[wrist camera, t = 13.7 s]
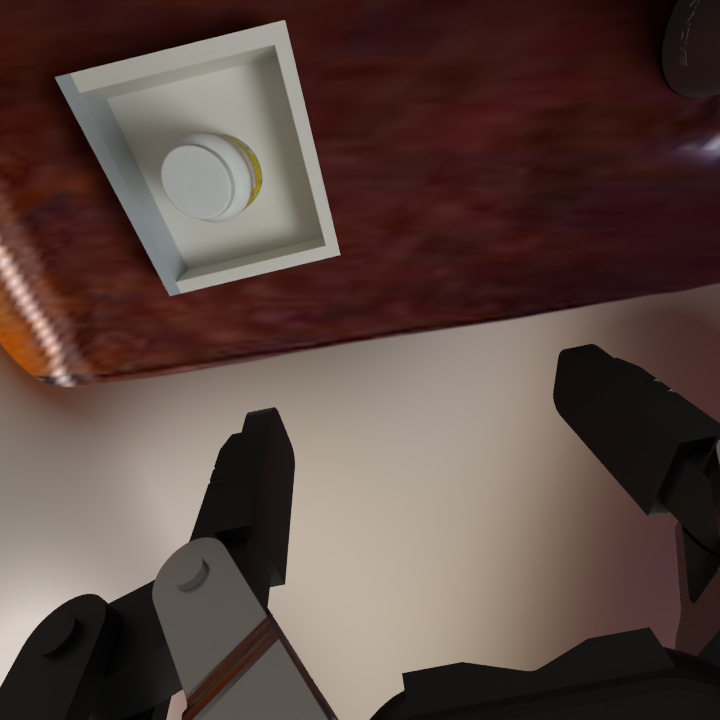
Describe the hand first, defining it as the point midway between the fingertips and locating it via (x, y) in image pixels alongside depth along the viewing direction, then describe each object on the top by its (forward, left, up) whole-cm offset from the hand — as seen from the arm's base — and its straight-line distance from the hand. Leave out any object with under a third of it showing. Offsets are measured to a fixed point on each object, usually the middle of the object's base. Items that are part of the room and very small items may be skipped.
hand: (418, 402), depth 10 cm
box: (+9, -6, -27) cm, 29 cm away
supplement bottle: (+8, -6, -26) cm, 28 cm away
